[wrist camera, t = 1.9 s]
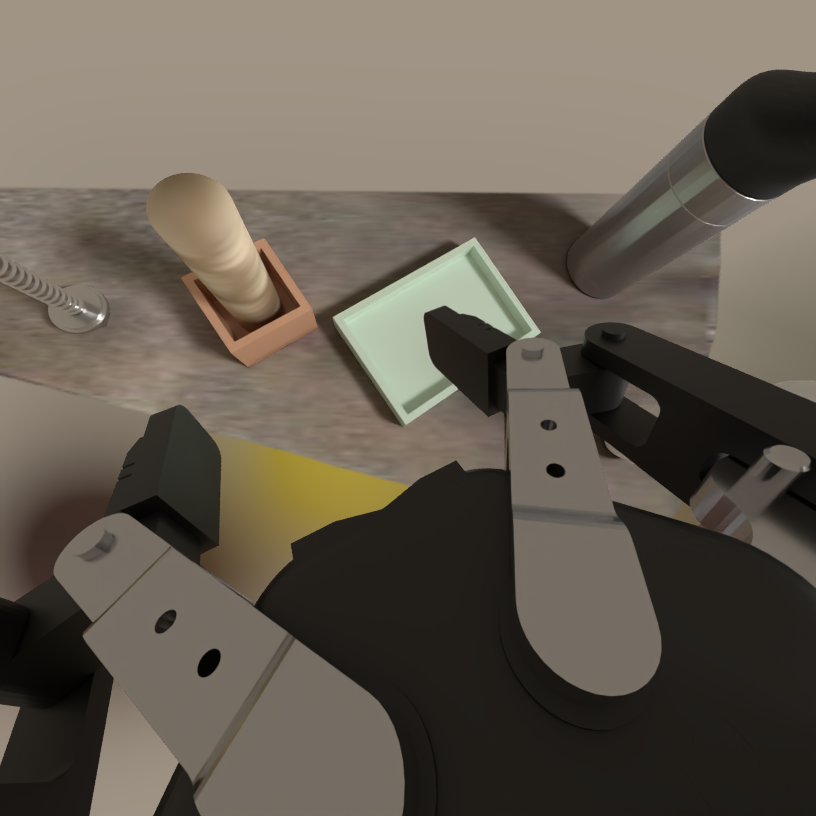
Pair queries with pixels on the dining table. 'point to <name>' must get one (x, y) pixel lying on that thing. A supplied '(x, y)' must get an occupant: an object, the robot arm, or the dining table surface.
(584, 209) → the dining table surface
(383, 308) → the pale green tray
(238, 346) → the terracotta holder
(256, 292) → the birch pin
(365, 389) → the dining table surface
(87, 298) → the screw
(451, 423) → the dining table surface
